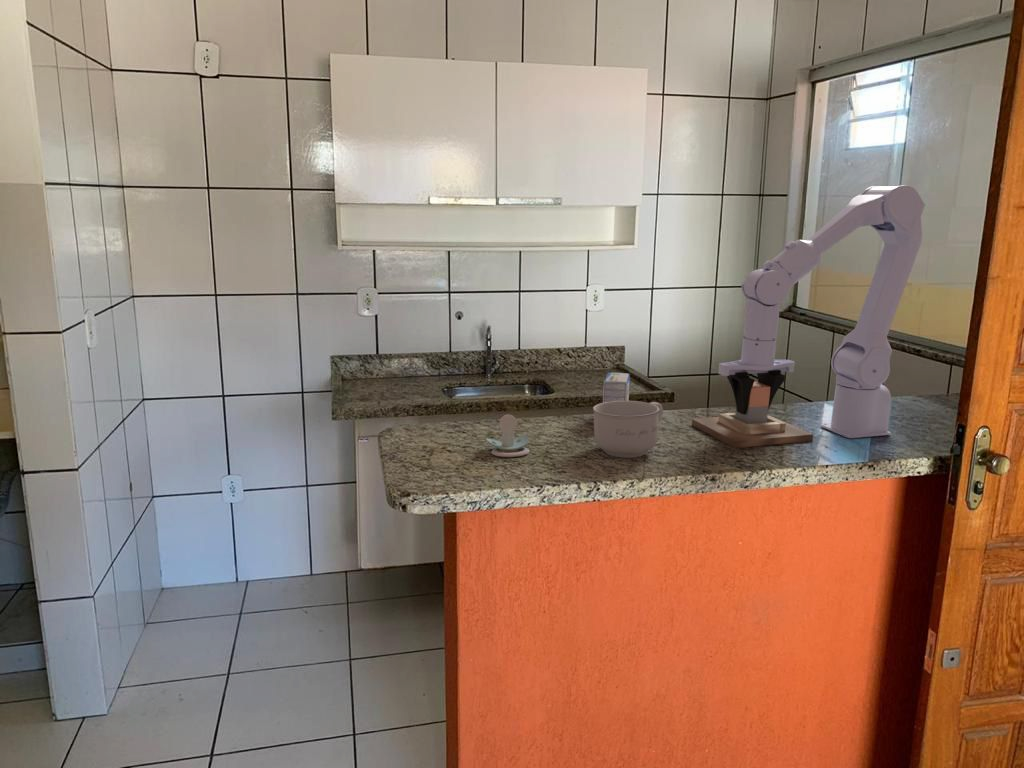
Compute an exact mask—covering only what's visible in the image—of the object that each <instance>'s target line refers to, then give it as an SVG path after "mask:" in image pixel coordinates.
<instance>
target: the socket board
mask: <svg viewBox="0 0 1024 768" xmlns="http://www.w3.org/2000/svg"><path fill="white" fill-rule="evenodd" d="M691 425H692V426H693V427H694V428H697V429H698V430H700V431H701V432H704V433H705V434H708V435H709V436H711V437H713V438H716V439H717V440H719V441H721V442H723V443H724V444H726V445H729V446H730V447H732V448H733V449H736V448H739V449H740V448H748V447H758V446H759V447H760V446H770V445H772V446H773V445H781V444H782V445H783V444H792V443H805V442H813V439H814V434H813V433H811V432H809V431H806V430H804V429H802V428H800V427H797V426H795V425H793V424H791V423H788V422H785V421H783V420H781V419H779V418H777V417H775V416H773V415H770V414H768V416H767V423H757V424H746V423H744V422H742V421H739V420H737V419H735V412H727V413H718V416H713V417H712V416H711V417H699V418H692V419H691Z"/></svg>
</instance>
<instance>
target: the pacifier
mask: <svg viewBox="0 0 1024 768" xmlns="http://www.w3.org/2000/svg"><path fill="white" fill-rule="evenodd" d="M498 425H499V429H500V431H501V441H500V440H495V439H492V438H488V437H486V438H485V441H486V442H487V443H488V444H489V445H490V446H492V447H495V448H494V449H492V450H491V451H490V452H491V454H492V455H493V456H496V457H499V458H500V457H501V458H502V457H503V458H515V457H516V458H517V457H522V456H525V455H528V454H530V449H529V448H527V447H525V446H527V444H529V442H530V436H529V435H528V434H526V435H525V434H524V435H521V436H517V437H515V432H516V430H517V427H518V421H517V419H516V417H515V416H514V415H512V414H504V415H502V417H501V418H500V419H499V423H498Z"/></svg>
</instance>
